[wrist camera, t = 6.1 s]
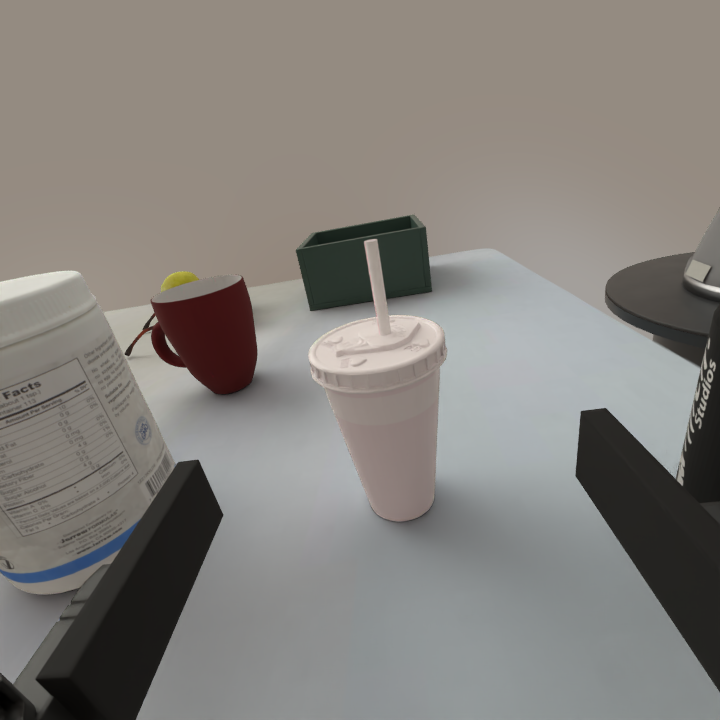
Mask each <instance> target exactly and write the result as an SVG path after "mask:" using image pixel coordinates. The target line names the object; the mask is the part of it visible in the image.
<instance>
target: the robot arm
mask: <svg viewBox="0 0 720 720" xmlns="http://www.w3.org/2000/svg"><path fill="white" fill-rule="evenodd" d="M682 284H683V286H684V288H685V289H686V290H688V291H689V292H691V293H693V294H695V295H697V296H700V297H702V298H705V299H708V300H712V301H715V302H719V303H720V208H719V210H718V212H717V213H716V215H715V217H714V218H713V220H712V222H711V224H710V225H709V227H708V229H707V231H706V232H705V234H704V236H703V238H702V240H701V242H700V243H699V246H698V247H697V249H696V251H695V253H694V254H693V255H692V256H691V257H690V259H689V260H688V262H687V265H686V268H685V271H684V276H683V282H682ZM576 477H577V479H578V480H579V482H580V483H581V485H582V486H583V488H584V489H585V491H586V492H587V494H588V495H589V497H590V498H591V500H592V501H593V503H594V504H595V506H596V507H597V509H598V510H599V512H600V513H601V515H602V516H603V518H604V519H605V521H606V522H607V524H608V525H609V527H610V528H611V530H612V531H613V533H614V534H615V536H616V537H617V539H618V540H619V542H620V543H621V545H622V546H623V548H624V549H625V551H626V552H627V554H628V555H629V557H630V558H631V560H632V561H633V563H634V564H635V566H636V567H637V569H638V570H639V572H640V573H641V575H642V576H643V578H644V579H645V581H646V582H647V584H648V585H649V587H650V588H651V590H652V591H653V593H654V594H655V596H656V597H657V599H658V600H659V602H660V603H661V605H662V606H663V608H664V609H665V611H666V612H667V614H668V615H669V617H670V618H671V620H672V621H673V623H674V624H675V626H676V627H677V629H678V630H679V632H680V633H681V635H682V636H683V638H684V639H685V641H686V642H687V644H688V645H689V647H690V648H691V650H692V651H693V653H694V654H695V656H696V657H697V659H698V660H699V662H700V663H701V665H702V666H703V668H704V669H705V671H706V672H707V674H708V675H709V677H710V678H711V680H712V681H713V683H714V684H715V686H716V687H717V689H718V690H719V692H720V501H717V502H707V503H699V502H698V501H697V500H696V499H695V498H694V497H693V496H692V495H691V494H690V493H689V492H688V491H687V490H686V489H685V488H684V487H683V486H682V485H681V484H680V483H679V482H678V481H677V480H676V479H675V478H674V477H673V476H672V475H671V474H670V473H669V472H668V471H667V470H666V469H665V468H664V467H663V466H662V465H661V464H660V463H659V462H658V461H657V460H656V459H655V458H654V457H653V456H652V455H651V454H650V453H649V452H648V451H647V450H646V449H645V447H644V446H643V445H642V444H641V443H640V442H639V441H638V440H637V439H636V438H635V437H634V436H633V435H632V434H631V433H630V432H629V431H628V430H627V429H626V428H625V427H624V426H623V425H622V424H621V423H620V422H619V421H618V420H617V419H616V418H615V417H614V416H613V415H612V414H611V413H610V412H609V411H608V410H607V409H606V408H602V409H594V410H586V411H581V416H580V428H579V441H578V453H577V465H576ZM222 517H223V513H222V511H221V509H220V507H219V504H218V502H217V500H216V498H215V495H214V493H213V491H212V489H211V487H210V484H209V482H208V480H207V478H206V475H205V473H204V471H203V469H202V467H201V464H200V462H199V460H192V461H184V462H178V463H177V465H176V466H175V468H174V469H173V471H172V472H171V474H170V475H169V477H168V478H167V480H166V481H165V483H164V485H163V486H162V488H161V489H160V491H159V492H158V494H157V495H156V497H155V498H154V500H153V501H152V503H151V504H150V506H149V507H148V509H147V510H146V512H145V513H144V515H143V516H142V518H141V519H140V521H139V522H138V524H137V525H136V527H135V528H134V530H133V531H132V533H131V534H130V536H129V538H128V539H127V541H126V542H125V544H124V545H123V547H122V548H121V550H120V551H119V553H118V554H117V556H116V557H115V559H114V560H113V562H112V563H111V564H104V565H102V566H101V567H99V568H98V569H97V570H96V571H95V572H94V573H93V574H92V575H91V576H90V577H89V578H88V579H87V580H86V581H85V582H84V583H83V585H82V586H81V588H80V589H79V590H78V592H77V593H76V595H75V596H74V598H73V599H72V600H71V604H70V605H68V606H67V608H66V609H65V611H64V612H63V613H62V615H61V616H60V620H59V622H56V623H55V625H54V626H53V628H52V629H51V631H50V632H49V634H48V635H47V636H46V638H45V639H44V641H43V642H42V644H41V645H40V646H39V648H38V649H37V651H36V652H35V654H34V655H33V657H32V658H31V659H30V661H29V662H28V664H27V665H26V667H25V668H24V669H23V671H22V672H21V674H20V675H19V677H18V678H17V680H16V681H15V682H14V684H12V683H11V682H9V681H8V680H7V679H6V678H5V677H4V676H3V675H2V674H1V673H0V720H136V718H137V715H138V713H139V711H140V708H141V706H142V704H143V701H144V699H145V697H146V694H147V692H148V690H149V687H150V685H151V683H152V680H153V678H154V676H155V673H156V671H157V669H158V666H159V664H160V662H161V659H162V657H163V655H164V652H165V650H166V648H167V645H168V643H169V641H170V638H171V636H172V634H173V631H174V629H175V627H176V624H177V622H178V620H179V617H180V615H181V613H182V610H183V608H184V606H185V603H186V601H187V599H188V596H189V594H190V592H191V589H192V587H193V585H194V582H195V580H196V578H197V575H198V573H199V571H200V568H201V566H202V564H203V561H204V559H205V557H206V554H207V552H208V550H209V547H210V545H211V543H212V540H213V538H214V536H215V533H216V531H217V529H218V526H219V524H220V522H221V519H222Z"/></svg>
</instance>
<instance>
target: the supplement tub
mask: <svg viewBox="0 0 720 720" xmlns="http://www.w3.org/2000/svg"><path fill="white" fill-rule="evenodd" d="M175 466H176V464H175V462H174V460H173V458H172V456H171V454H170V452H169V450H168V448H167V446H166V443H165V441H164V439H163V437H162V435H161V433H160V431H159V428H158V426H157V424H156V422H155V420H154V418H153V416H152V413H151V411H150V409H149V407H148V405H147V403H146V401H145V399H144V397H143V395H142V393H141V391H140V389H139V387H138V384H137V382H136V380H135V378H134V376H133V374H132V372H131V369H130V367H129V365H128V363H127V361H126V359H125V357H124V355H123V352H122V350H121V348H120V346H119V344H118V342H117V340H116V338H115V336H114V334H113V332H112V329H111V327H110V325H109V323H108V321H107V319H106V317H105V315H104V313H103V311H102V309H101V307H100V305H99V304H98V303H97V299H96V297H95V296H94V295H92V294H91V292H90V290H89V288H88V286H87V284H86V282H85V281H84V278H83V277H82V275H81V274H80V273H79V272H76V271H60V272H52V273H45V274H39V275H33V276H27V277H22V278H17V279H12V280H7V281H2V282H0V572H1V573H2V574H3V575H4V576H5V577H6V578H7V579H8V581H9V582H10V583H11V584H12V585H14V586H15V587H16V588H18V589H20V590H22V591H25V592H28V593H33V594H42V595H45V594H58V593H62V592H67V591H70V590H74V589H77V588H80V587H81V586H82V585H83V583H84V582H85V581H86V580H87V579H88V578H89V577H90V576H91V575H92V574H93V573H94V572H95V571H96V570H97V569H98V568H99V567H101V566H102V565H104V564H111V563H112V562H113V560H114V559H115V557H116V556H117V554H118V553H119V551H120V550H121V548H122V547H123V545H124V544H125V542H126V541H127V539H128V538H129V536H130V534H131V533H132V531H133V530H134V528H135V527H136V525H137V524H138V522H139V521H140V519H141V518H142V516H143V515H144V513H145V512H146V510H147V509H148V507H149V506H150V504H151V503H152V501H153V500H154V498H155V497H156V495H157V494H158V492H159V491H160V489H161V488H162V486H163V485H164V483H165V481H166V480H167V478H168V477H169V475H170V474H171V472H172V471H173V469H174V468H175Z"/></svg>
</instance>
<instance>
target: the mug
mask: <svg viewBox="0 0 720 720" xmlns="http://www.w3.org/2000/svg"><path fill="white" fill-rule="evenodd" d="M151 304H152V307H153V309H154V312H155V314H156V317H157V319H158V322H157V323H156V324H155V326H154V327H153V330H152V334H151V340H152V344H153V347H154V349H155V351H156V353H157V354H158V355H159V357H160V358H161V359H162V360H164V361H165V362H166V363H168V364H170V365H173V366H177V367H184V368H187V369H188V370H189V371H190V373H191V374H192V375H193V376H194V377H195V378H196V379H197V380H198V381H200V382H201V383H202V384H203V385H205V386H206V387H207V388H209V389H210V390H211V391H212V392H214V393H216V394H229V393H233V392H236V391H239V390H241V389H243V388H244V387H246V386H247V385H249V384H250V383H251V381H252V379H253V375H254V371H255V366H256V361H257V343H256V335H255V327H254V319H253V312H252V306H251V301H250V297H249V294H248V291H247V288H246V285H245V282H244V280H243V277H242V276H241V275H222V276H215V277H210V278H205V279H201V280H196V281H193V282H189V283H185V284H182V285H179V286H176V287H173V288H171V289H168V290H165V291H163V292H161V293H159V294H157V295H155V296H154V297H153V298H152V299H151ZM165 335H166V337H167V338H168V340H169V341H170V343H171V344H172V346H173V347H174V349H175V350H176V352H177V353H178V355H179V356H180V357H179V356H178V355H176V354H175V353H173V352H172V351H171V350H170V348H169V347H168V345H167V343H166V340H165Z"/></svg>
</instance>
